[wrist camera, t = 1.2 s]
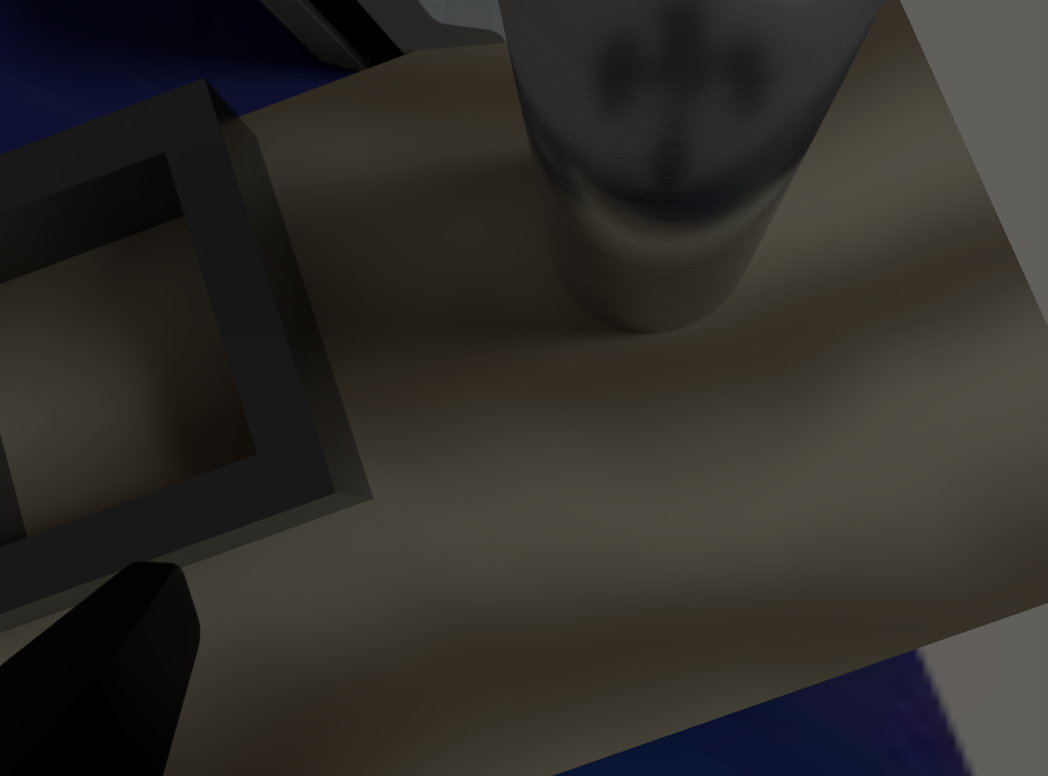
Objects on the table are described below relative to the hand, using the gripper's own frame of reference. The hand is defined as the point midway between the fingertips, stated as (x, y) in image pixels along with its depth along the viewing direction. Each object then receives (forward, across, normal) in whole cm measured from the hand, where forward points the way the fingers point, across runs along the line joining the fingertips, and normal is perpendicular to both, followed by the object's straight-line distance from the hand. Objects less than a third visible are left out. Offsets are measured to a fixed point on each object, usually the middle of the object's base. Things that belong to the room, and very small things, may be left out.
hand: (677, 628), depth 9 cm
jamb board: (+12, +5, +7) cm, 14 cm away
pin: (+14, 0, +4) cm, 14 cm away
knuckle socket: (+11, +12, +6) cm, 17 cm away
